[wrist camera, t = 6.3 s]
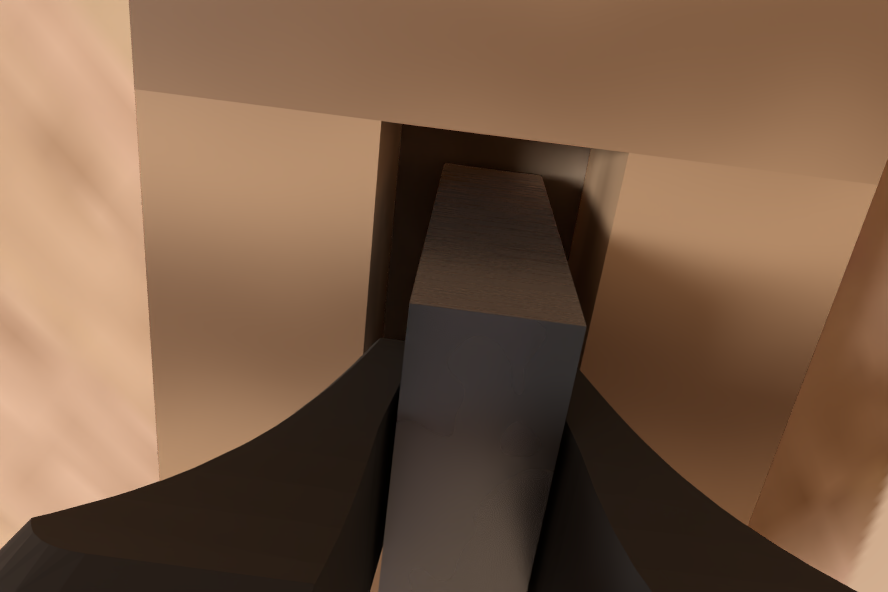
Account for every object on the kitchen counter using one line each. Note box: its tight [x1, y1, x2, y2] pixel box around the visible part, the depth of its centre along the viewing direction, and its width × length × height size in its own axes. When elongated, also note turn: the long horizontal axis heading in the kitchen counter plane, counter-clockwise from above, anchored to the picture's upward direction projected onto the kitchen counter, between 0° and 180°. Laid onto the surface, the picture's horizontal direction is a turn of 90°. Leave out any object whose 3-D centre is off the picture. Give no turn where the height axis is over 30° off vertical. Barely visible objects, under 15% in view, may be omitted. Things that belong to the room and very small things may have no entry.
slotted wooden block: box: [129, 0, 888, 592], centre depth 14 cm, size 14×12×4 cm
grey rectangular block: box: [378, 163, 587, 592], centre depth 12 cm, size 6×2×7 cm, turn 173°
